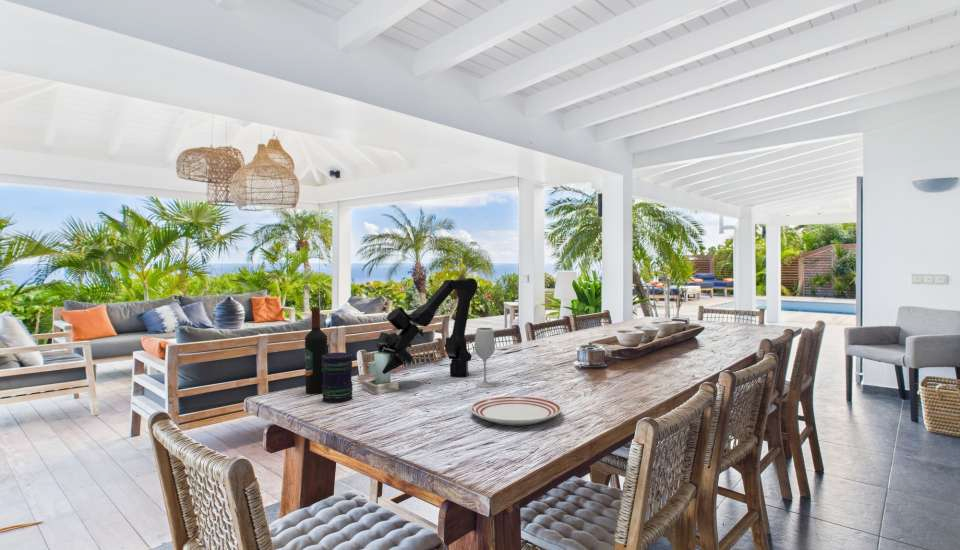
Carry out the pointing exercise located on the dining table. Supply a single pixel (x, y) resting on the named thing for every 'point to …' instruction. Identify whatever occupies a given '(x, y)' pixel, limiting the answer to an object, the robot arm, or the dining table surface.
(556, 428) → the dining table surface
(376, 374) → the pale green rounded piece
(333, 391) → the storage jar
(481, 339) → the wineglass
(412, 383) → the grey flat disc
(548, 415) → the dinner plate
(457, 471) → the dining table surface
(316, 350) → the wine bottle
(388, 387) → the frame
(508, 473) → the dining table surface
